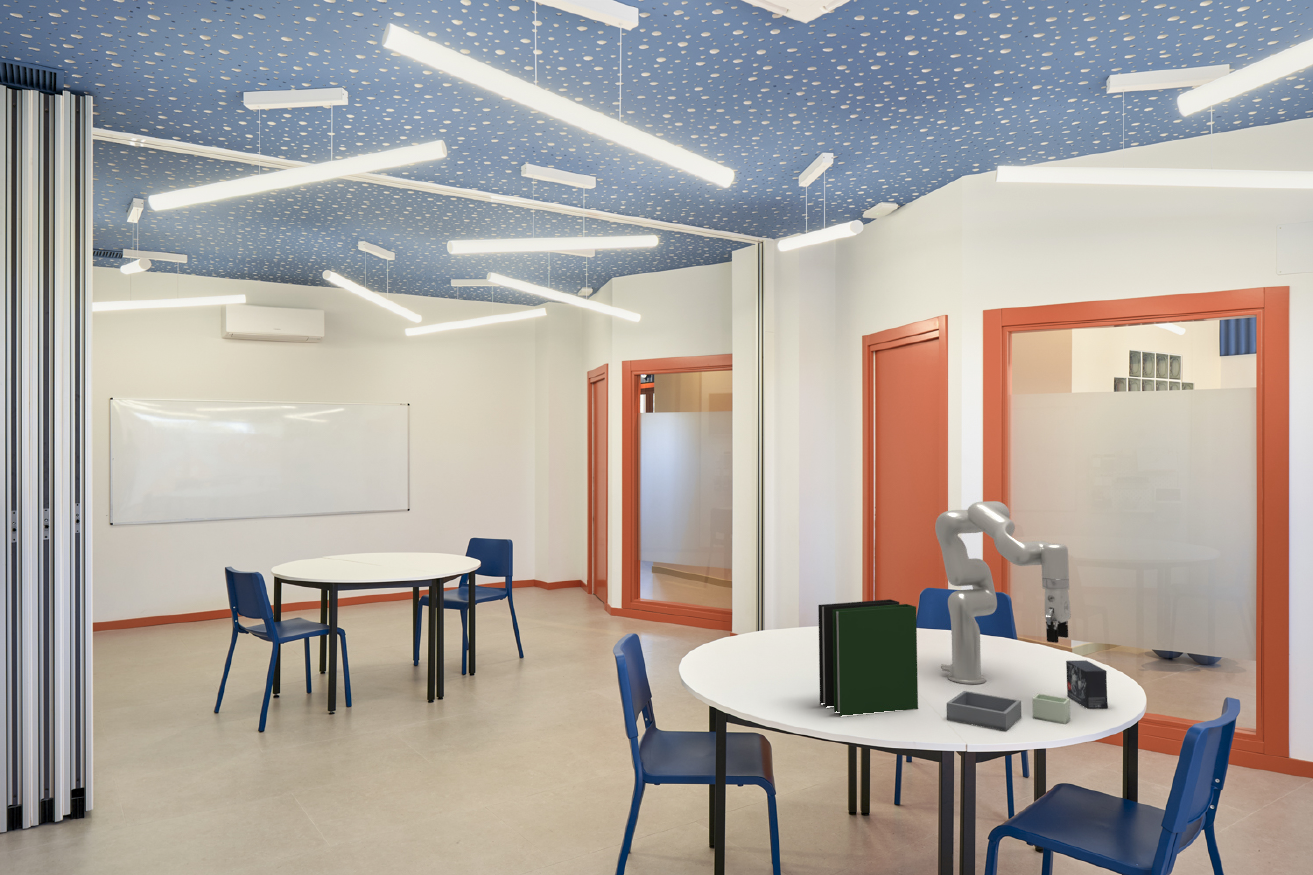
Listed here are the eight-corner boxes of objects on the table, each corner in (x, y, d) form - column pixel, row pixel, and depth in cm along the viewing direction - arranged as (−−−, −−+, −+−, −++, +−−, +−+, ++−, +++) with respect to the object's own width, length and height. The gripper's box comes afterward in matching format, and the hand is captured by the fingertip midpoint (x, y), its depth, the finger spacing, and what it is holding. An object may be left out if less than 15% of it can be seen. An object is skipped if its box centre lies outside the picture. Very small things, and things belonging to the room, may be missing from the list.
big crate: (946, 719, 241) (946, 702, 241) (964, 706, 254) (964, 690, 254) (1006, 731, 230) (1005, 713, 231) (1021, 717, 243) (1021, 700, 243)
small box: (1066, 696, 263) (1065, 659, 264) (1087, 696, 263) (1086, 659, 264) (1086, 709, 250) (1085, 670, 251) (1108, 709, 250) (1107, 670, 250)
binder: (841, 717, 244) (840, 612, 245) (817, 703, 258) (816, 604, 259) (918, 708, 252) (916, 606, 253) (890, 695, 266) (889, 598, 267)
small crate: (1032, 718, 242) (1032, 698, 242) (1038, 713, 246) (1037, 693, 247) (1065, 724, 236) (1065, 703, 236) (1070, 718, 241) (1069, 698, 241)
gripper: (1059, 588, 240) (1062, 645, 239) (1077, 581, 252) (1079, 636, 252) (1033, 586, 245) (1035, 642, 244) (1051, 579, 257) (1053, 633, 257)
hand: (1057, 639), depth 248 cm, fingers open, 9 cm apart
